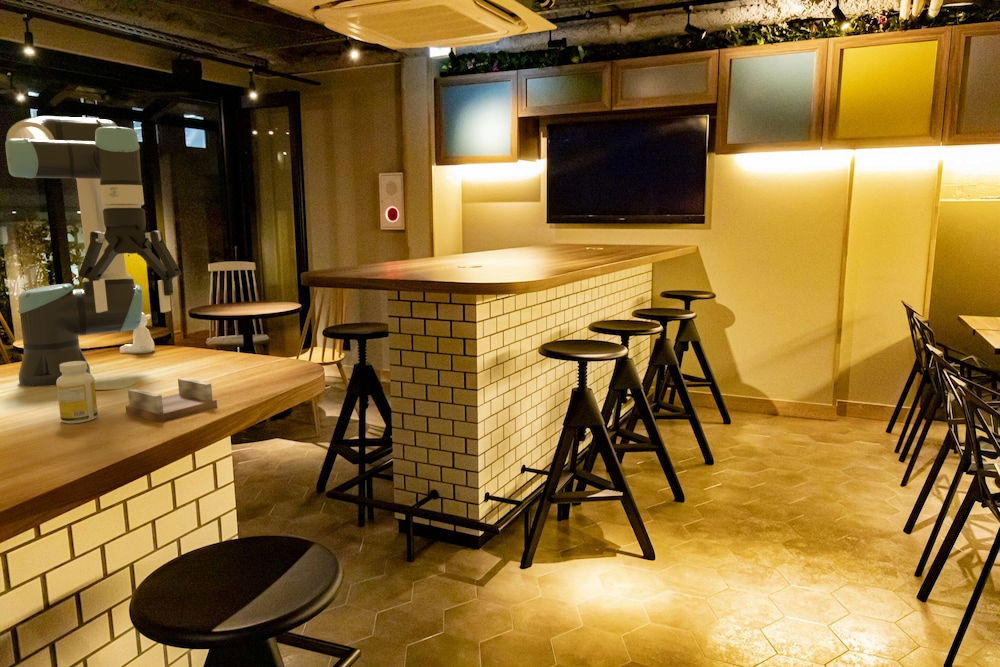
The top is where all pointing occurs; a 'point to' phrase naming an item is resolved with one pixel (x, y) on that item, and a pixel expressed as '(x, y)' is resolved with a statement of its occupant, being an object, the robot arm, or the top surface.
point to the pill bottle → (76, 393)
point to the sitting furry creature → (140, 339)
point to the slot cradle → (171, 401)
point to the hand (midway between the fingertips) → (133, 311)
